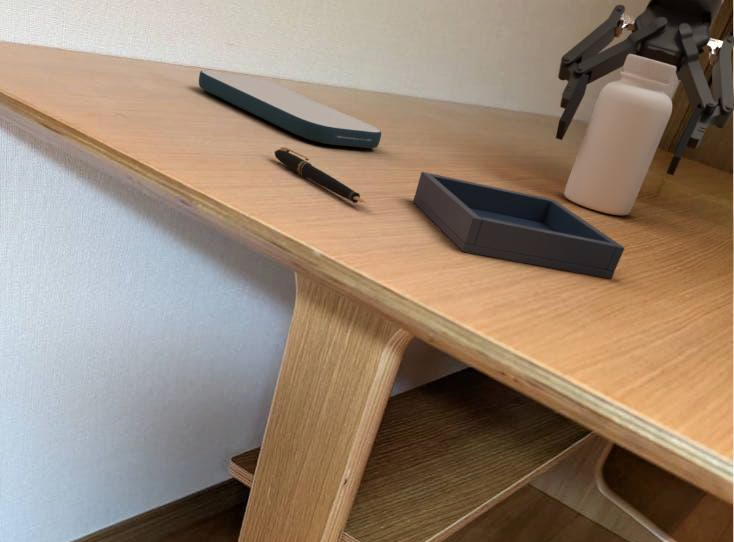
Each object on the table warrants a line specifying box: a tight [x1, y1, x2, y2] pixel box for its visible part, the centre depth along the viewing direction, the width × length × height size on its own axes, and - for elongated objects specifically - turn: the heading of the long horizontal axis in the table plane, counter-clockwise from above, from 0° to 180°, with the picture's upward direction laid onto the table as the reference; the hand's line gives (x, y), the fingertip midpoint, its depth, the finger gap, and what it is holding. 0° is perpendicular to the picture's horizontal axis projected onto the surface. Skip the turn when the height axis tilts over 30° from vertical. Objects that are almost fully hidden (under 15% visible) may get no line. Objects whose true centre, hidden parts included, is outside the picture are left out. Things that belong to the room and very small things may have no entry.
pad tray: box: [412, 171, 625, 280], centre depth 70 cm, size 14×14×3 cm
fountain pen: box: [274, 146, 369, 205], centre depth 70 cm, size 14×1×2 cm, turn 35°
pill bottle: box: [563, 54, 676, 216], centre depth 90 cm, size 8×8×15 cm
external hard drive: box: [198, 69, 382, 149], centre depth 93 cm, size 24×12×2 cm, turn 40°
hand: (615, 148), depth 89 cm, fingers open, 12 cm apart
